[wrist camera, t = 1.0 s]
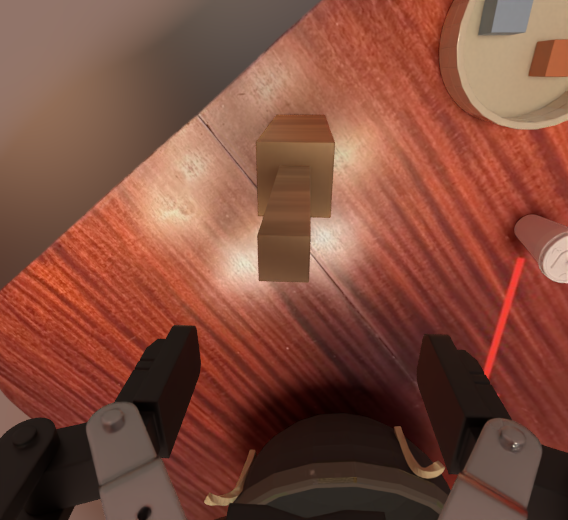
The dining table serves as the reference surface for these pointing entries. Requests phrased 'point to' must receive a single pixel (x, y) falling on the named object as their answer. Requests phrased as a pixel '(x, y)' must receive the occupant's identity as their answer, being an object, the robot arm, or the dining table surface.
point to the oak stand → (297, 158)
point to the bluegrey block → (505, 17)
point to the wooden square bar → (286, 228)
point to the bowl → (341, 471)
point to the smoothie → (545, 245)
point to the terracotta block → (550, 59)
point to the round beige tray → (503, 67)
